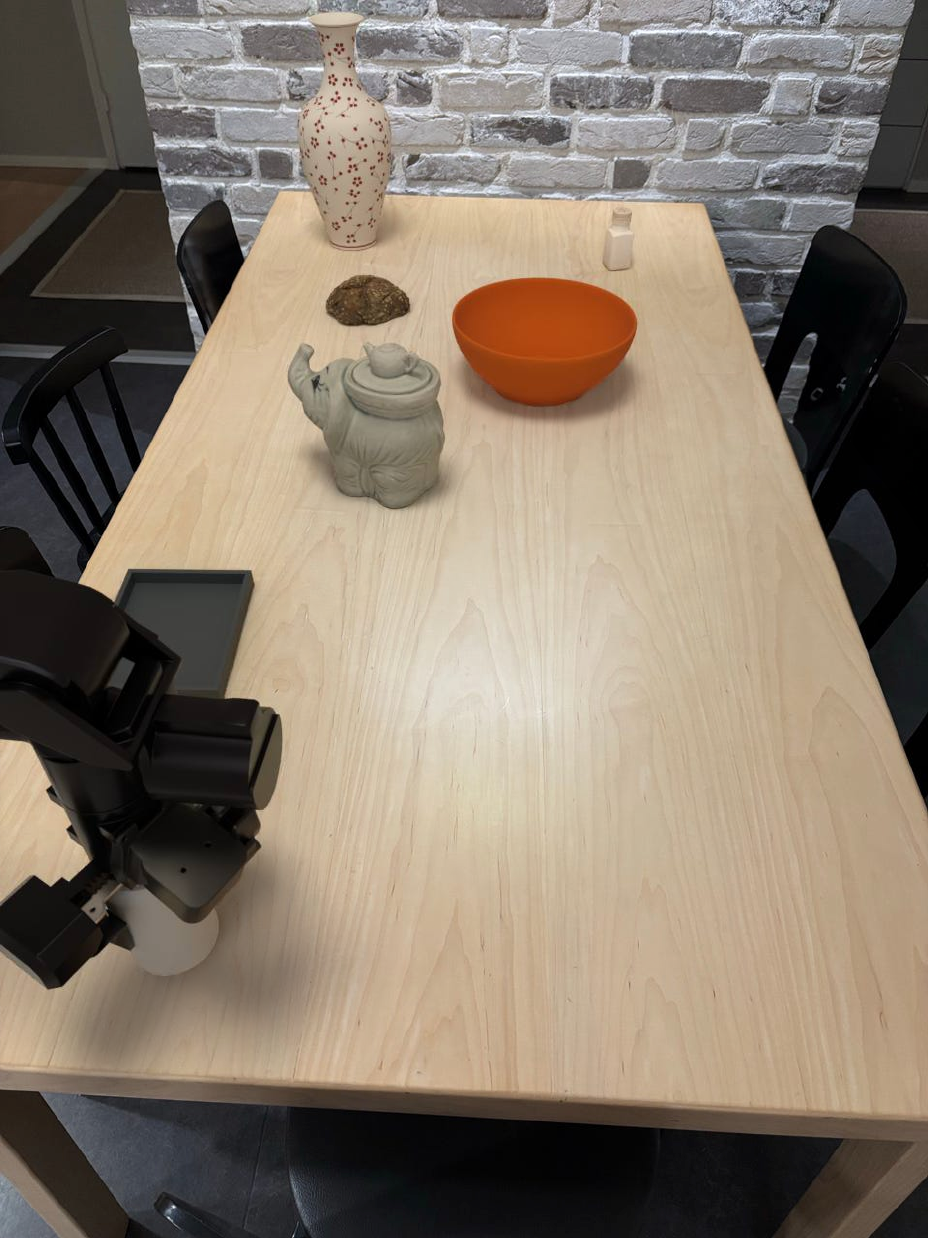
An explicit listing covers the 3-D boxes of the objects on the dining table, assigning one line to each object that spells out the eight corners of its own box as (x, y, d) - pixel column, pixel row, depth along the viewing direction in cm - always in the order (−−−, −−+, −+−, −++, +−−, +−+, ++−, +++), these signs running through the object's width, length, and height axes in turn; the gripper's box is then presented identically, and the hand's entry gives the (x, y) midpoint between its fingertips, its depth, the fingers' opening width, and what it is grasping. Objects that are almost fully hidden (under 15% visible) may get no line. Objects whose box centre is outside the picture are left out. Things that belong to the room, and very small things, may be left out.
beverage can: (177, 997, 64) (137, 914, 56) (113, 951, 67) (66, 864, 58) (238, 926, 68) (209, 838, 60) (176, 884, 71) (140, 794, 62)
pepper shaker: (601, 262, 161) (607, 206, 155) (622, 260, 162) (629, 205, 156) (609, 271, 159) (615, 215, 152) (630, 269, 159) (638, 213, 153)
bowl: (571, 328, 143) (577, 265, 136) (663, 403, 126) (674, 336, 119) (424, 361, 135) (422, 295, 128) (501, 446, 118) (504, 376, 112)
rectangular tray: (222, 704, 86) (218, 690, 85) (82, 702, 86) (76, 688, 85) (254, 583, 99) (251, 569, 97) (132, 582, 99) (128, 568, 97)
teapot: (296, 459, 116) (276, 318, 103) (405, 432, 121) (399, 294, 108) (340, 532, 105) (324, 385, 92) (458, 499, 110) (459, 355, 97)
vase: (363, 266, 160) (347, 32, 136) (291, 247, 166) (262, 20, 142) (413, 235, 170) (406, 13, 146) (343, 219, 176) (325, 3, 152)
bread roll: (370, 285, 154) (368, 256, 150) (420, 308, 148) (419, 278, 144) (310, 309, 147) (307, 279, 144) (361, 334, 141) (358, 303, 138)
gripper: (71, 975, 45) (145, 1092, 55) (314, 727, 56) (336, 864, 67) (-69, 866, 49) (25, 994, 60) (183, 657, 60) (224, 796, 71)
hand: (164, 908), depth 64 cm, fingers closed on beverage can, 6 cm apart
